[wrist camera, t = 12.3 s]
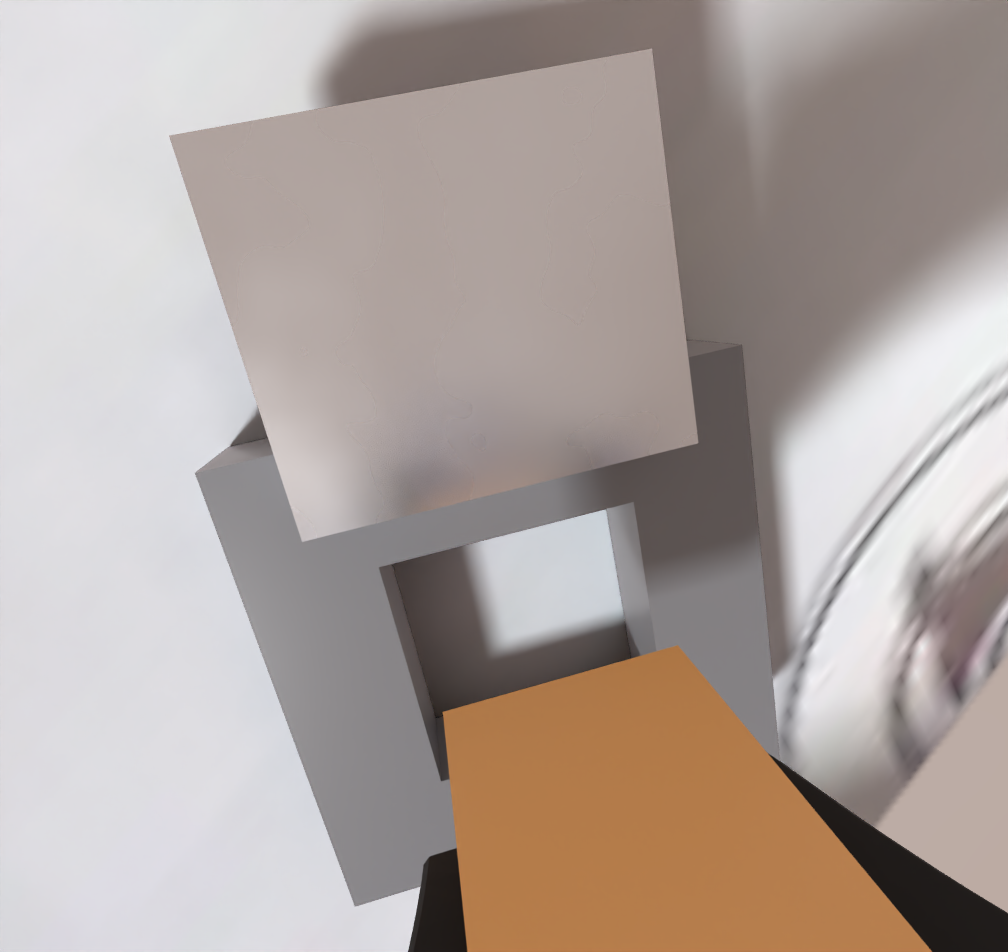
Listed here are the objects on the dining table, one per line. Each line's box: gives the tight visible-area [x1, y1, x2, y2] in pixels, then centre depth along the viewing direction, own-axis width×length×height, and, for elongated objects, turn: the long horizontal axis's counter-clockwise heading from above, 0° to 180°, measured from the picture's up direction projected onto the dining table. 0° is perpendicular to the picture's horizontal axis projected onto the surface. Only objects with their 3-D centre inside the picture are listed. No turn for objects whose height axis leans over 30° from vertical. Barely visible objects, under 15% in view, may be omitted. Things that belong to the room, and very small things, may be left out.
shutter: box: [169, 49, 698, 542], centre depth 12 cm, size 7×8×2 cm
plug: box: [443, 645, 932, 952], centre depth 8 cm, size 4×4×6 cm
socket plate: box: [195, 340, 780, 906], centre depth 16 cm, size 12×12×2 cm
